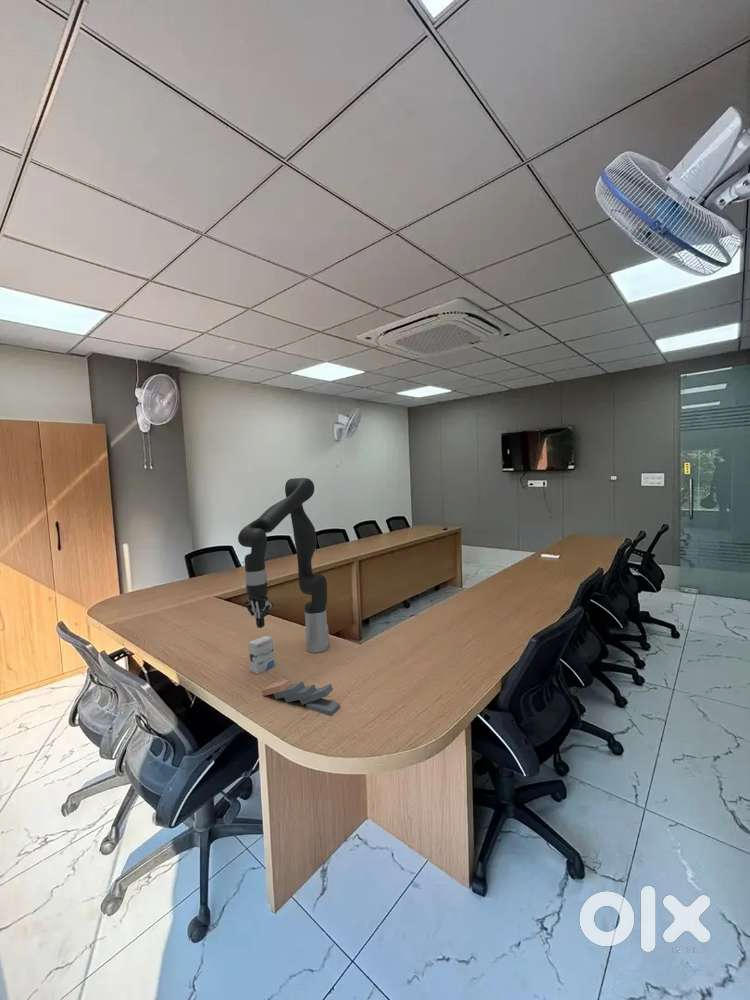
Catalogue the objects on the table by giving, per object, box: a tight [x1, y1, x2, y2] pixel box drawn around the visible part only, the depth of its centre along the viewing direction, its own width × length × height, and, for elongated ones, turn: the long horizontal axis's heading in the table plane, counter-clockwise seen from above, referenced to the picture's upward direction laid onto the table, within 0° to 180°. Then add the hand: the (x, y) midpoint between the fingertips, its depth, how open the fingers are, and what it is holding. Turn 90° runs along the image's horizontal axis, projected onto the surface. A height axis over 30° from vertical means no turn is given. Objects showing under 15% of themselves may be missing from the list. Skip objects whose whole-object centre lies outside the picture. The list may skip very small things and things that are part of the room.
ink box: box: [248, 635, 275, 675], centre depth 163 cm, size 8×5×12 cm, turn 141°
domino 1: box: [261, 678, 293, 697], centre depth 142 cm, size 2×5×10 cm
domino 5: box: [305, 698, 341, 717], centre depth 133 cm, size 2×5×10 cm
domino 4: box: [299, 683, 334, 706], centre depth 136 cm, size 2×5×10 cm
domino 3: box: [283, 684, 317, 704], centre depth 137 cm, size 2×5×10 cm
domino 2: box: [273, 681, 306, 700], centre depth 139 cm, size 2×5×10 cm
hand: (260, 627), depth 152 cm, fingers closed
